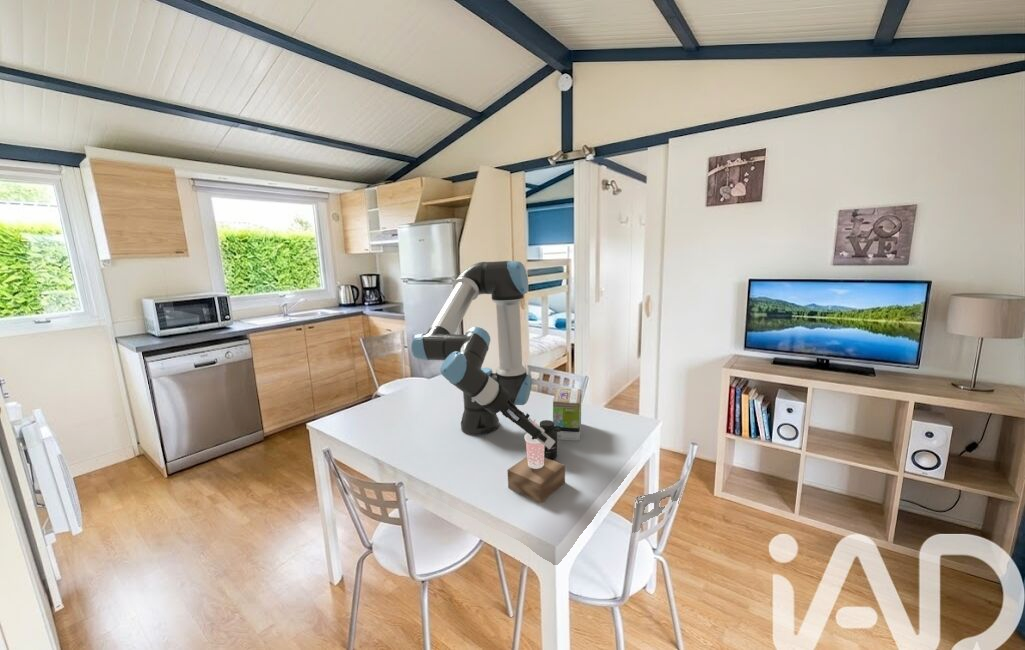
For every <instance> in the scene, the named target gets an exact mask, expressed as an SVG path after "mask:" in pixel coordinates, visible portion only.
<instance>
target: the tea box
mask: <svg viewBox="0 0 1025 650" xmlns="http://www.w3.org/2000/svg"><path fill="white" fill-rule="evenodd" d="M552 421H553V422H554V429H555V430H556V432H557V440H562V441H576V442H577V441H580V436H581V429H582V428H581V427H582V389H581V388H563V387H562V388H561V387H560V388H559V387H556V389H555V393H554V397H553V400H552Z"/></svg>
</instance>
